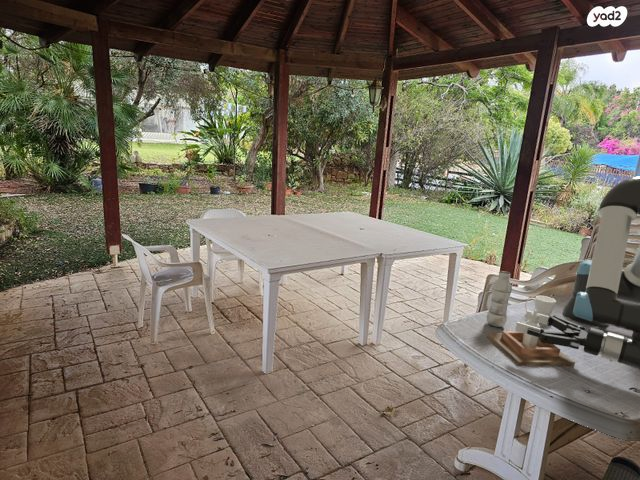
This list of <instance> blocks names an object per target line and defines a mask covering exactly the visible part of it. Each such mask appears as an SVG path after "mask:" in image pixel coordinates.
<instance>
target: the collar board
mask: <svg viewBox="0 0 640 480" xmlns="http://www.w3.org/2000/svg"><path fill="white" fill-rule="evenodd" d="M523 336H524V333H522V332H518V331H514V330H502V331H501V333H487V335H486V337H487V339H488V340H490V341H491V342H492V343H493V344H494V345H495V346H496V347H498V349H500V351H501V352H503V353H504V354H505V355H506V356H507V357H508V358H509V359H510V360H511V361H513V362H514V363H515V364H516V365H517V366H518V367H519V366H521V367H522V366H523V367H524V366H525V367H528V366H530V367H531V366H532V367H533V366H534V367H540V366H541V367H542V366H543V367H547V366H548V367H574V366H575V363H576V362H575V361H574V360H573V359H571V358H569V356H568V355H566V354H564V353H563V352H562V351H561V348H559V347H558V346H557V345H554V344H548V343H542V342H540V339H539V338H538V342H537V347H525V346H524V345H523V344H522V341H523Z"/></svg>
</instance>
